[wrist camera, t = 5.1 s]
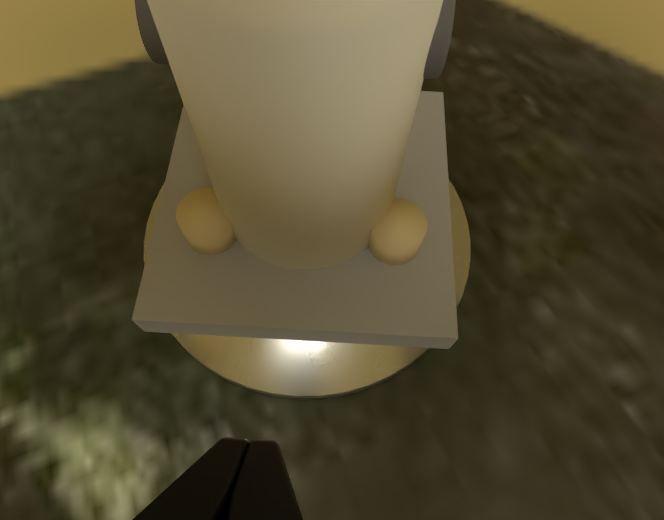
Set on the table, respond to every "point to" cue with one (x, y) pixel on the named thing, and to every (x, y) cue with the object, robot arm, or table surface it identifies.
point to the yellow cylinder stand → (303, 173)
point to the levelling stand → (313, 344)
